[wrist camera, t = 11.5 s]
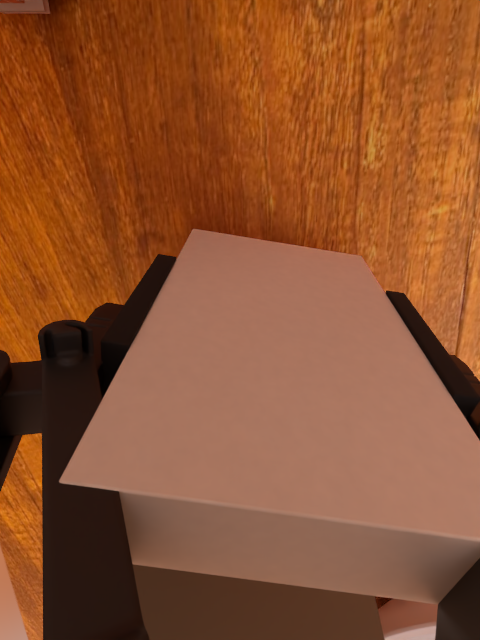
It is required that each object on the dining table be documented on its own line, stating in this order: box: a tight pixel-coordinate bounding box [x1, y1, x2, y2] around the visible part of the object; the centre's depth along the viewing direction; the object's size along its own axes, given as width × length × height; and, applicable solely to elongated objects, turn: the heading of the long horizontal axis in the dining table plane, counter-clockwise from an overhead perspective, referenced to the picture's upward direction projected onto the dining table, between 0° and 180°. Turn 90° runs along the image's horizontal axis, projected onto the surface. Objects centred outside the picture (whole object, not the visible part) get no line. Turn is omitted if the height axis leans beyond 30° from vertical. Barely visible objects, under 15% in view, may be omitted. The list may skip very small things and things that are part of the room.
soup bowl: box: [378, 599, 438, 640], centre depth 42 cm, size 24×24×7 cm
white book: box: [59, 229, 480, 604], centre depth 14 cm, size 2×9×15 cm, turn 81°
